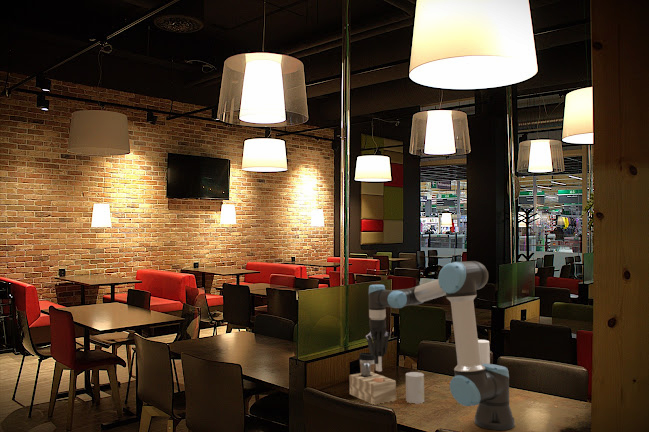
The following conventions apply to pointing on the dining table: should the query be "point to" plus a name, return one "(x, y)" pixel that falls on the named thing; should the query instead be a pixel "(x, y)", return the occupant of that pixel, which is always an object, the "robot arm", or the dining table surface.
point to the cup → (415, 387)
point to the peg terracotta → (378, 379)
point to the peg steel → (365, 369)
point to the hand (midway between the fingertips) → (378, 370)
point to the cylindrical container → (484, 351)
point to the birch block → (372, 388)
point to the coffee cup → (367, 360)
